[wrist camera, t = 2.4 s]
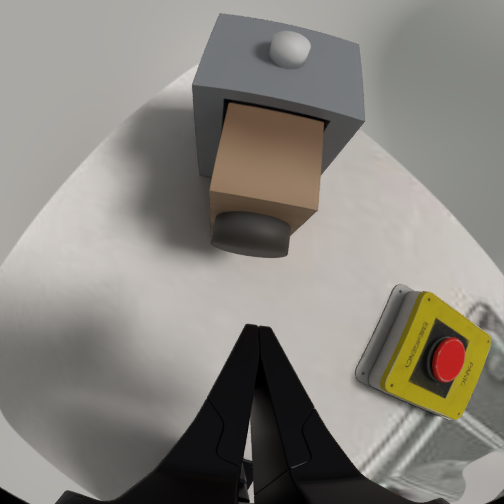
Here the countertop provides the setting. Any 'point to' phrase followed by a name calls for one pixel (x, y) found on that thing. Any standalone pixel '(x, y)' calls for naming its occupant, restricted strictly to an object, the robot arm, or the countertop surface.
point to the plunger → (264, 180)
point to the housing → (277, 81)
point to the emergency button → (425, 353)
